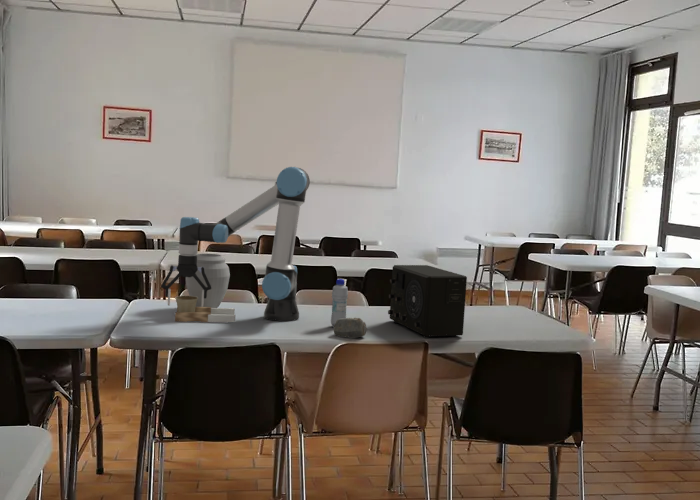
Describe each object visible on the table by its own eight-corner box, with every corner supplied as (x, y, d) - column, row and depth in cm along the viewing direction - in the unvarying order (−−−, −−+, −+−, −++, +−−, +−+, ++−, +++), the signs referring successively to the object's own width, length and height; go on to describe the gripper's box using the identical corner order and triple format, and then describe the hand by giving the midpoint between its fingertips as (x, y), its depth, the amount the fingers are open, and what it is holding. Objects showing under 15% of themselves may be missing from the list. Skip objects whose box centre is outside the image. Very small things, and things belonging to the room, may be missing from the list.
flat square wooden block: (210, 315, 300) (211, 307, 299) (210, 321, 286) (210, 313, 286) (177, 314, 297) (177, 306, 297) (175, 321, 283) (175, 312, 283)
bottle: (334, 328, 285) (337, 280, 283) (327, 325, 291) (329, 277, 289) (349, 328, 288) (351, 280, 287) (341, 324, 294) (344, 277, 292)
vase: (184, 313, 300) (185, 257, 298) (183, 305, 319) (185, 252, 317) (230, 313, 305) (232, 258, 303) (227, 305, 324) (229, 253, 321)
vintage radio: (382, 320, 309) (385, 264, 307) (421, 319, 317) (425, 264, 314) (420, 339, 275) (424, 276, 272) (463, 338, 282) (468, 276, 279)
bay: (234, 315, 302) (234, 308, 302) (235, 322, 287) (235, 315, 287) (208, 314, 300) (208, 307, 300) (207, 322, 285) (208, 314, 285)
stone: (331, 336, 271) (332, 316, 271) (338, 332, 279) (339, 313, 278) (362, 340, 268) (363, 320, 267) (368, 336, 276) (369, 316, 275)
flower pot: (186, 321, 285) (186, 300, 284) (169, 318, 289) (170, 297, 289) (202, 318, 293) (203, 297, 292) (186, 315, 297) (186, 294, 297)
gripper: (218, 255, 294) (216, 304, 297) (157, 252, 290) (155, 302, 292) (218, 257, 287) (216, 308, 289) (155, 254, 282) (153, 306, 284)
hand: (185, 305), depth 290 cm, fingers open, 13 cm apart
